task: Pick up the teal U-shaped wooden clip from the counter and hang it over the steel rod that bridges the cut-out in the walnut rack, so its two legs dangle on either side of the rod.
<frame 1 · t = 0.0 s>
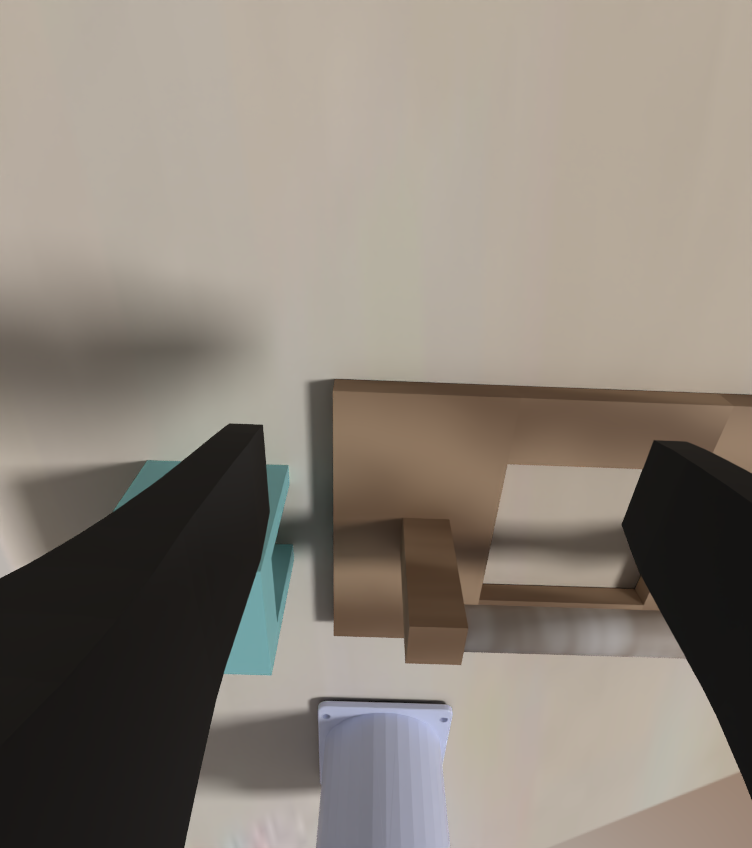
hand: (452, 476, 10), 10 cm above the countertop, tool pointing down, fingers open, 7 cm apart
rack: (574, 525, 24), on the countertop
clip: (225, 513, 23), on the countertop
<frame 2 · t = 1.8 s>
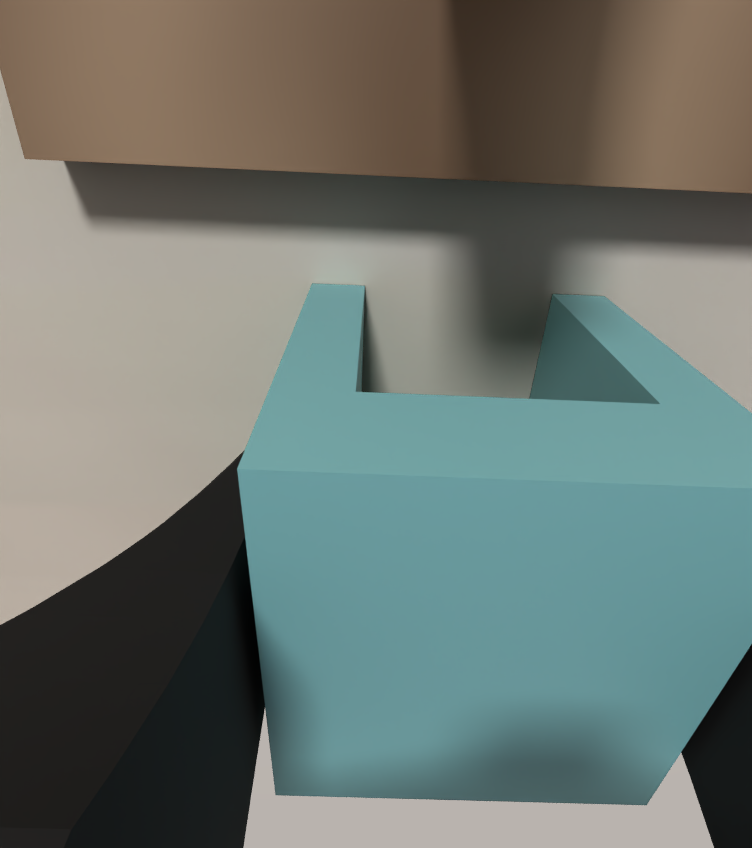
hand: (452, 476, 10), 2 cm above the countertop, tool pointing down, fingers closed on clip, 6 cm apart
clip: (442, 424, 11), on the countertop, touching gripper
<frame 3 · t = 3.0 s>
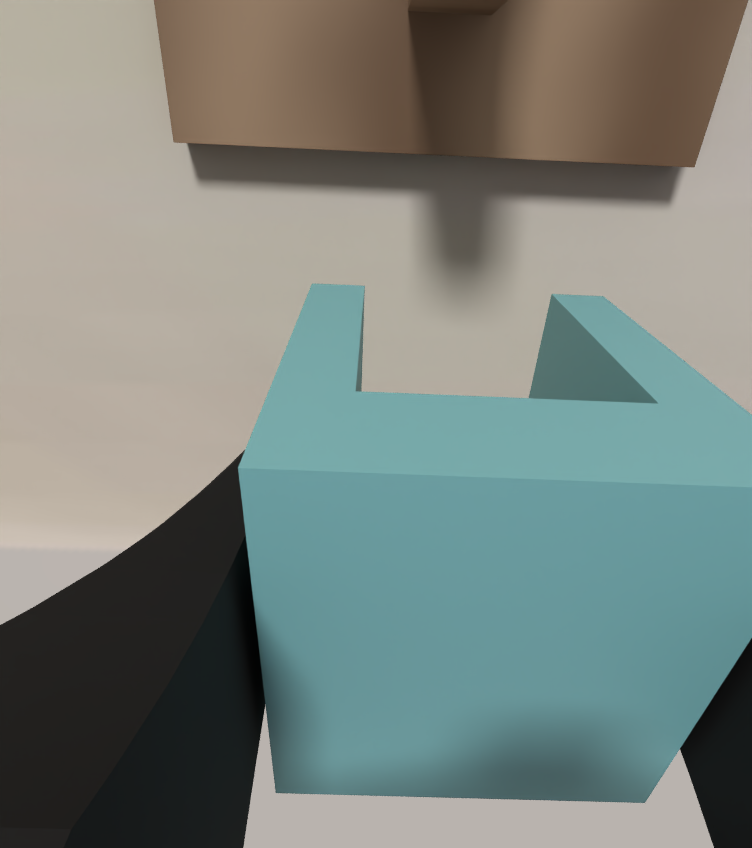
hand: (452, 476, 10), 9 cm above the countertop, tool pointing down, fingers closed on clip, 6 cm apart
clip: (441, 424, 11), point 7 cm above the countertop, touching gripper
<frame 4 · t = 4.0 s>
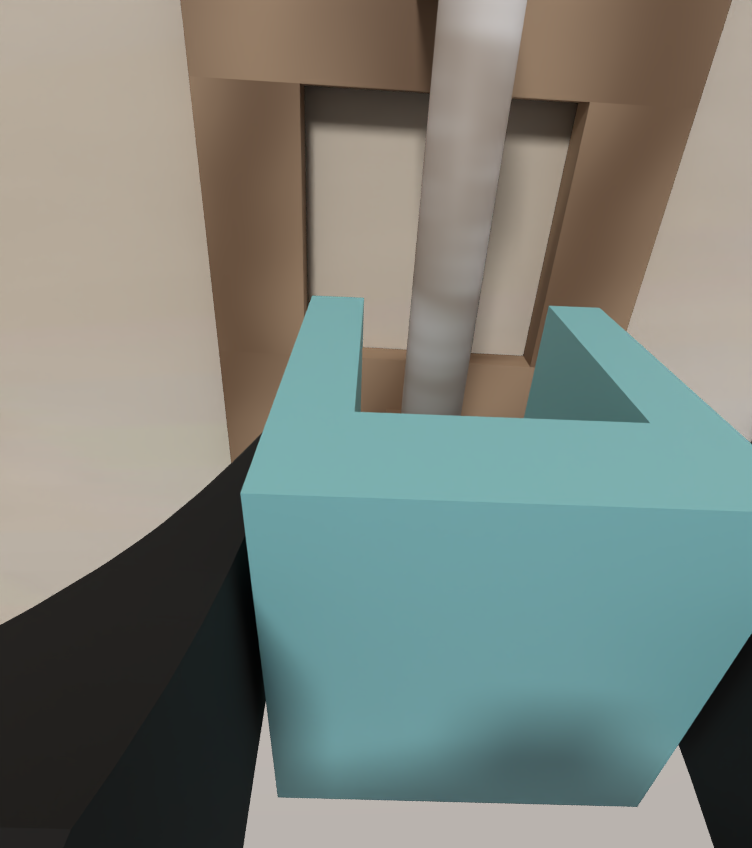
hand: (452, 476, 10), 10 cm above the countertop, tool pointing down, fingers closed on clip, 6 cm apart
rack: (427, 237, 17), on the countertop
clip: (440, 432, 12), point 8 cm above the countertop, touching gripper
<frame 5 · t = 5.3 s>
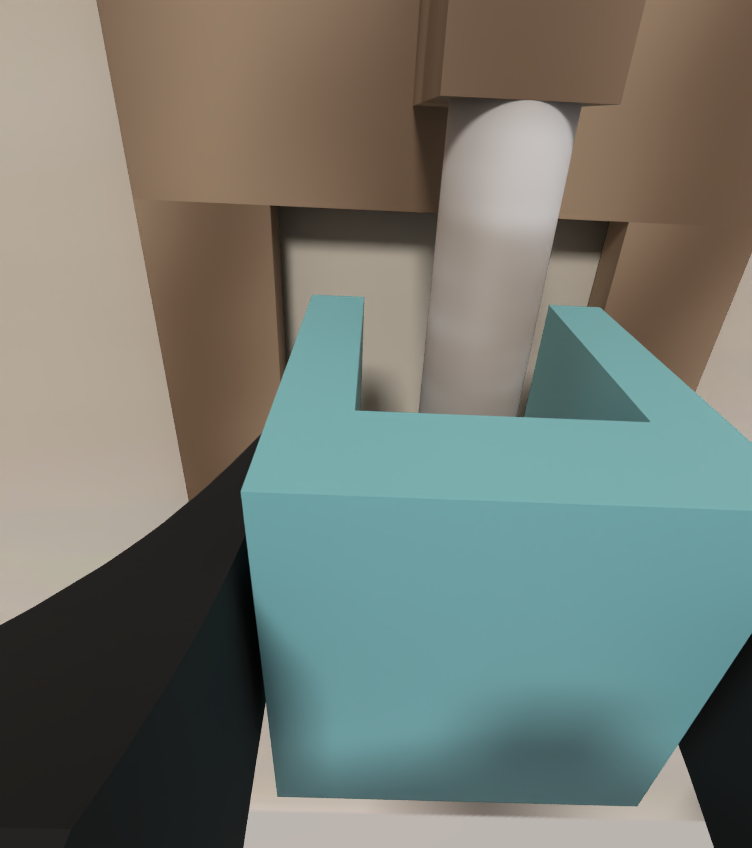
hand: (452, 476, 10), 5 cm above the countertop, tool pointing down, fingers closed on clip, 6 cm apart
rack: (429, 361, 14), on the countertop
clip: (440, 431, 12), point 3 cm above the countertop, touching gripper
when the fingers open (5 cm above the countertop, at t = 6.3 s): clip drops 1 cm, resting on rack.
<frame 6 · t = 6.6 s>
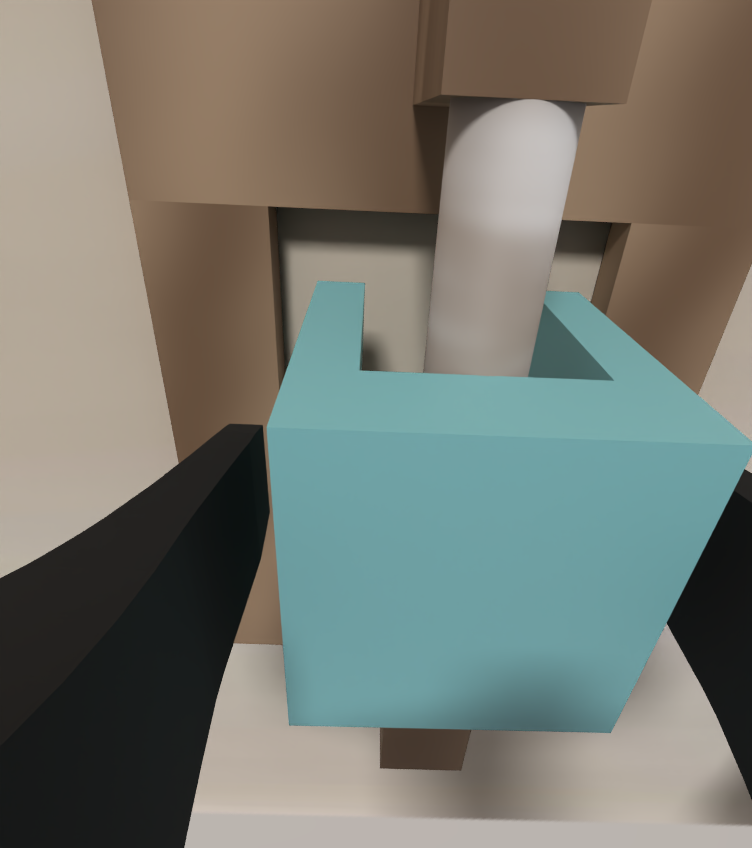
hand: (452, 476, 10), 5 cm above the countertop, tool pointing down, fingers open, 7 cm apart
rack: (429, 363, 14), on the countertop
clip: (434, 409, 13), point 2 cm above the countertop, touching rack
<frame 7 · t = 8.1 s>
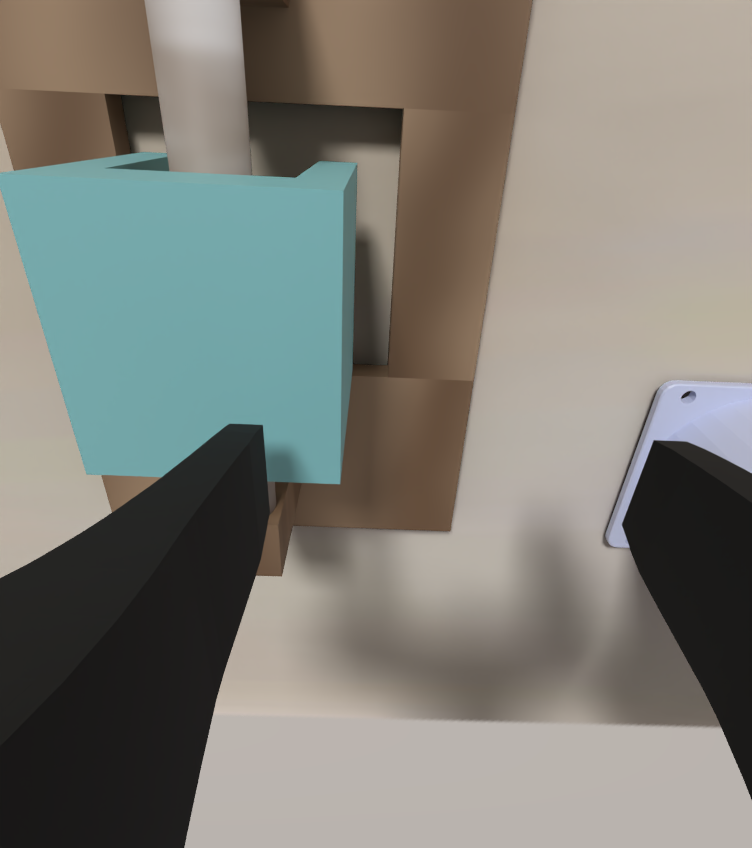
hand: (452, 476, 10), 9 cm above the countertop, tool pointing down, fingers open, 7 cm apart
rack: (270, 247, 17), on the countertop
clip: (258, 272, 15), point 2 cm above the countertop, touching rack
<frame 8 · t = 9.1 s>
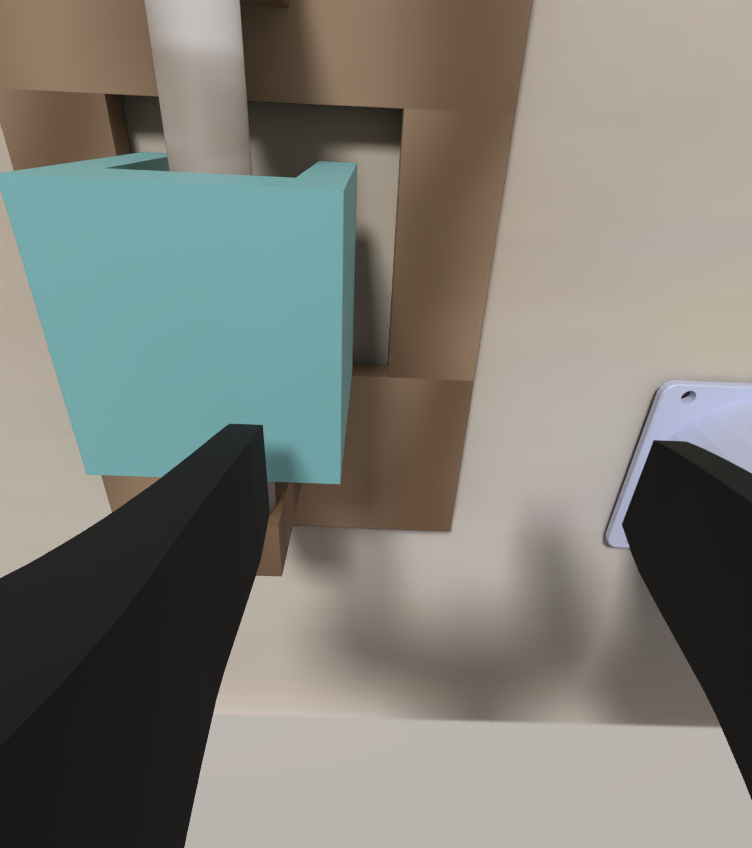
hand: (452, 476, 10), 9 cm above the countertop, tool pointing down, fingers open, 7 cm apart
rack: (270, 247, 17), on the countertop
clip: (258, 272, 15), point 2 cm above the countertop, touching rack
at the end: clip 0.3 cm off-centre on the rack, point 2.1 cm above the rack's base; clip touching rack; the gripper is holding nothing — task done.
